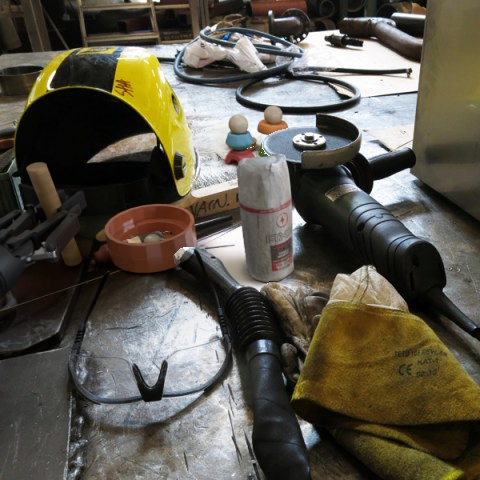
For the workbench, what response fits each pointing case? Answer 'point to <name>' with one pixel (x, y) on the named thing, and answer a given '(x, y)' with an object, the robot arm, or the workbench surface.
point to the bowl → (148, 221)
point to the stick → (51, 205)
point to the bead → (151, 238)
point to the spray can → (266, 216)
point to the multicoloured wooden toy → (243, 139)
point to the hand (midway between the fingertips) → (73, 198)
